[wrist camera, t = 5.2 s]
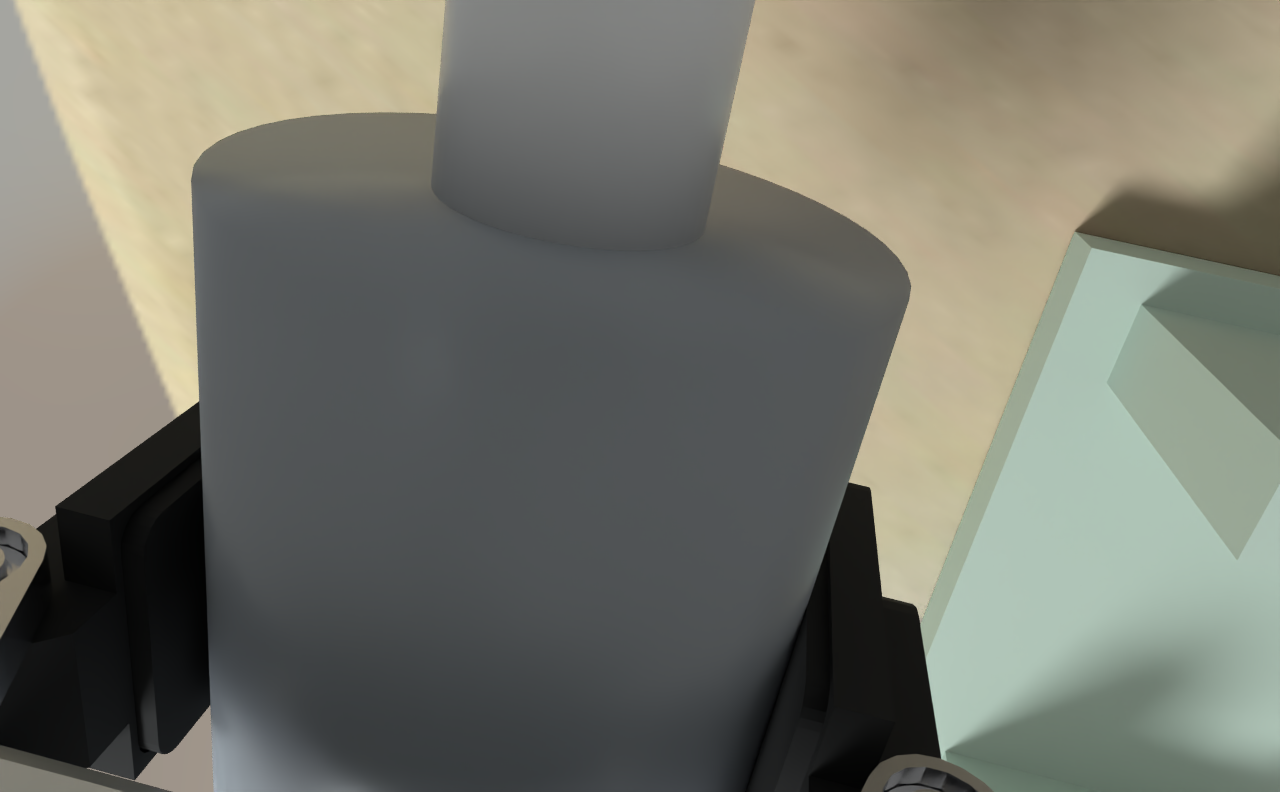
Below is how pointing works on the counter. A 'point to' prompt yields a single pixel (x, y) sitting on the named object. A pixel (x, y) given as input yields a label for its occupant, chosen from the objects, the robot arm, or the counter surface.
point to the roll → (522, 417)
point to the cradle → (1123, 542)
